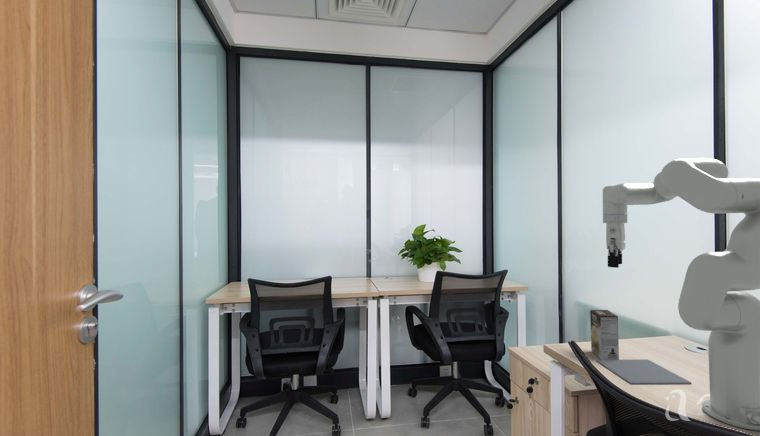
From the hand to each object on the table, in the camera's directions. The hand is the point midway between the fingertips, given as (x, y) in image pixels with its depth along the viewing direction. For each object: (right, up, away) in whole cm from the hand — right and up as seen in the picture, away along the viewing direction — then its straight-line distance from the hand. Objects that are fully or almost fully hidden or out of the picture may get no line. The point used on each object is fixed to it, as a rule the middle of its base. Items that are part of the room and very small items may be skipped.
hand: (615, 265), depth 128 cm
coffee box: (-3, -34, +1) cm, 34 cm away
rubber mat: (-1, -33, -13) cm, 36 cm away
